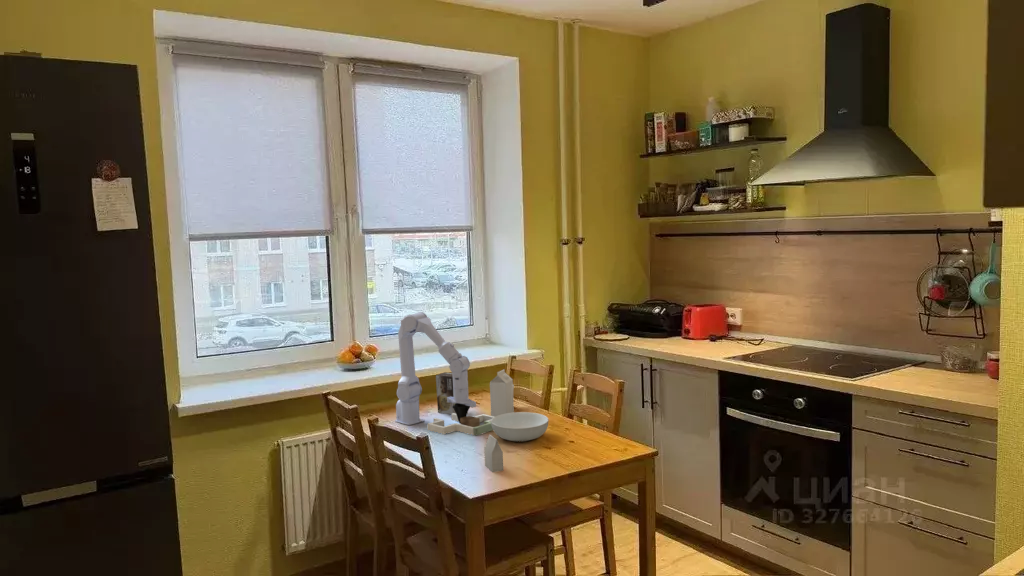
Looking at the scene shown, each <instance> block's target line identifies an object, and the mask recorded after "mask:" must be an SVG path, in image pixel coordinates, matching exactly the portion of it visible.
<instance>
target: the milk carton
mask: <svg viewBox="0 0 1024 576" xmlns="http://www.w3.org/2000/svg"><path fill="white" fill-rule="evenodd" d="M496 374H497V375H496V376H495V377H493V378H492V379H491V380H490V382H489V391H490V392H489V395H490V396H489V398H490V416H494V417H496V416H498V415H502V414H506V413H515V409H514V406H515V405H514V402H515V401H514V390H513V385H514V382H513V381H514V379H513V378H512V376H510V375H509V374H507V373H506V371H505V369H502V370H499V371H497V372H496Z"/></svg>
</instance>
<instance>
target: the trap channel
mask: <svg viewBox="0 0 1024 576" xmlns="http://www.w3.org/2000/svg"><path fill="white" fill-rule="evenodd" d="M450 415H451V416H450V417H451V420H452V421H454V420H455V423H451V424H449V425H445V419H441V418H439V417H438V418H437V417H435V418H433V421H432V422H428V423H427V424H426V425H427V426H426V427H427V431H429V430H430V432H433V431H434V432H433V433H436V432H438V433H437V434H440V433H442V434H441V435H446V433H447V434H450V433H452V432H453V433H454V432H456V431H457V432H459V431H460V433H463V432H464V433H463V434H467V433H468V435H471V434H472V435H471V436H474V437H475V436H479V435H482V433H483V434H485V433H486V434H487V433H489V432H492V431H494V430H493V428H492V425H491V420H492V419H493V418H494V416H491V414H490V415H489V414H485V413H482V414H478V415H476V416H474V417H477V418H479V419H480V426H477V427H470V426H466V425H462V424H460V423H459V422H458V417H457V415H456V414H455V413H452V414H450ZM457 422H458V423H457Z"/></svg>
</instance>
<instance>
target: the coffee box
mask: <svg viewBox="0 0 1024 576" xmlns="http://www.w3.org/2000/svg"><path fill="white" fill-rule="evenodd" d="M435 382H436V383H435V385H436V401H437V413H439V414H447V415H451V414H452V413H455V414H456V412H455V410H454V409H453V405H455V403H451V402H447V397H454V394H453V376H452V372H446V371H445V372H441V373H438V374H436V375H435Z"/></svg>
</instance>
